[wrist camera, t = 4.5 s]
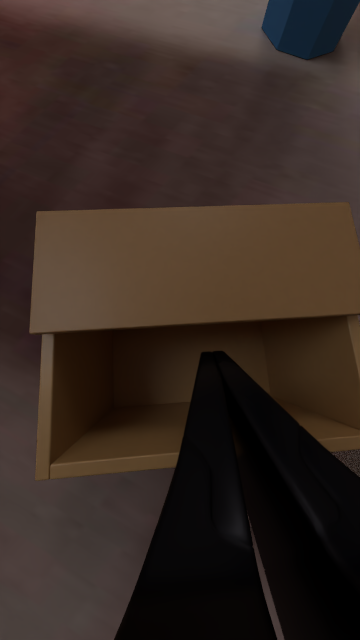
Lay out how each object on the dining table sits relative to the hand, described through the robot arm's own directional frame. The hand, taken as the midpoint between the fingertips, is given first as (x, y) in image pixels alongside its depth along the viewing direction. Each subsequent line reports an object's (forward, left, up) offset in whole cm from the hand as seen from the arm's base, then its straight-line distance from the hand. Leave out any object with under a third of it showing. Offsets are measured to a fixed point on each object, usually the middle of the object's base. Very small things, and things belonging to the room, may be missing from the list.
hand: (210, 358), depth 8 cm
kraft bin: (0, +1, -9) cm, 9 cm away
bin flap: (+2, +3, 0) cm, 4 cm away
